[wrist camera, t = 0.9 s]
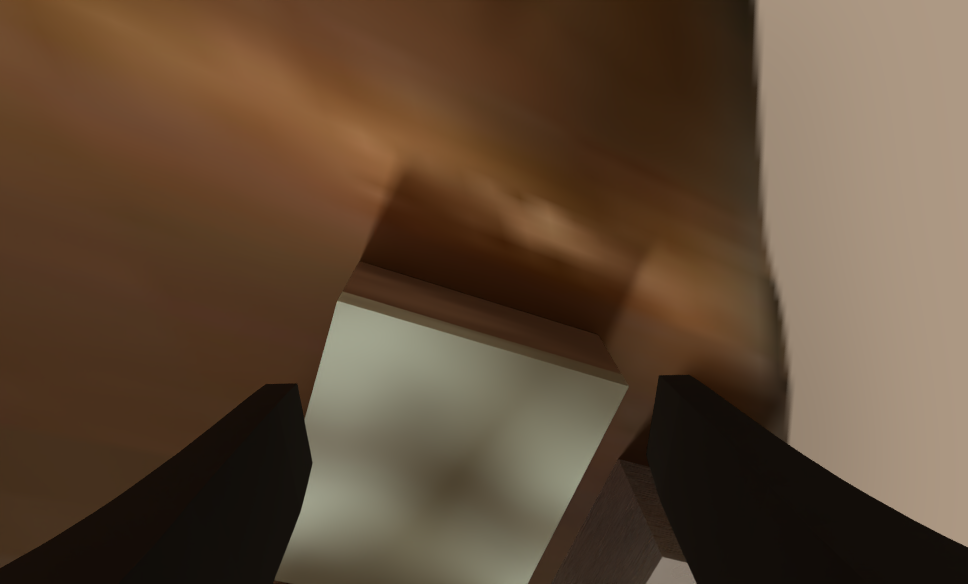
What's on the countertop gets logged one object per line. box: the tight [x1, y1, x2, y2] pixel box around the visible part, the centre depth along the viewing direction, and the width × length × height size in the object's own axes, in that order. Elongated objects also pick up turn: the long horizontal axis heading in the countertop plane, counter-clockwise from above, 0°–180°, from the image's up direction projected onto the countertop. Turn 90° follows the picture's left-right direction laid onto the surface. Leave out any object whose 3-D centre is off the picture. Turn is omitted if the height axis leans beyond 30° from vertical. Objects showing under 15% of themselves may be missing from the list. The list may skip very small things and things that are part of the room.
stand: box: [274, 261, 629, 584], centre depth 21 cm, size 12×10×4 cm
